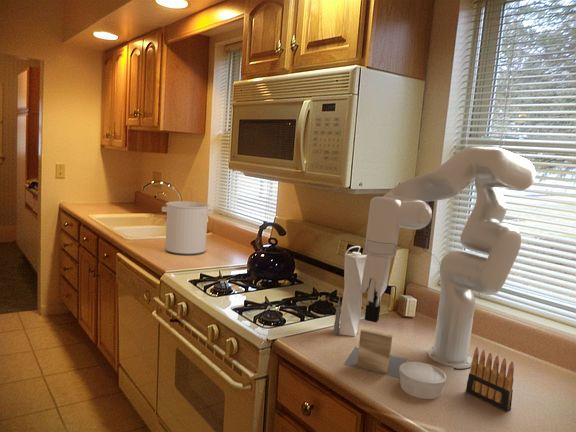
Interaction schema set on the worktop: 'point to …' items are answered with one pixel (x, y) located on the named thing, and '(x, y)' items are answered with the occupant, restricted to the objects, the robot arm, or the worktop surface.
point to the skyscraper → (351, 295)
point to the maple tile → (374, 350)
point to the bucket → (186, 227)
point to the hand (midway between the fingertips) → (371, 320)
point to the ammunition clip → (491, 381)
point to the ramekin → (422, 380)
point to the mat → (392, 371)
